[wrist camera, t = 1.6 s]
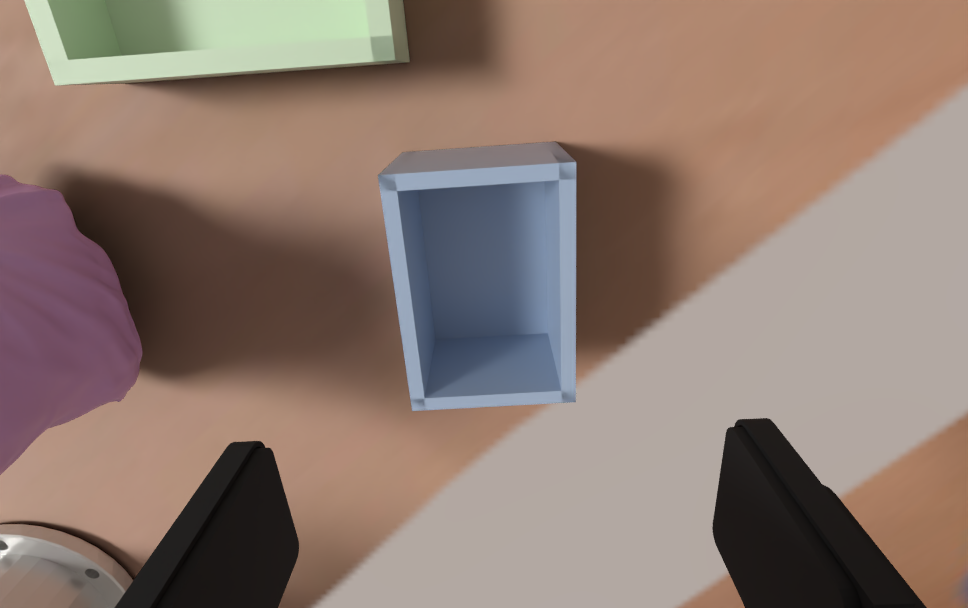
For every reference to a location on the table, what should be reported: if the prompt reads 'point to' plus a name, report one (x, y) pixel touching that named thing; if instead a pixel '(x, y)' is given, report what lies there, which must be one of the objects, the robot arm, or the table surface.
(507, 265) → the small crate
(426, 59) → the table surface
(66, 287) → the toy character
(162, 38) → the green tray
